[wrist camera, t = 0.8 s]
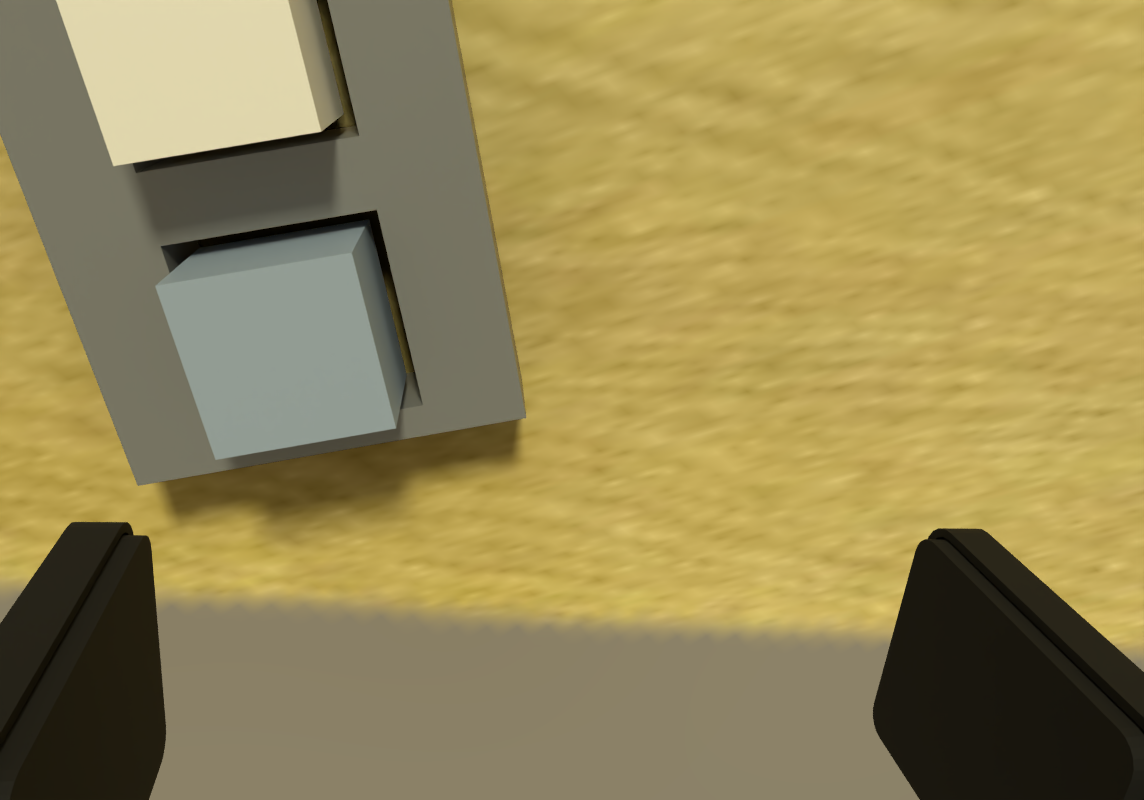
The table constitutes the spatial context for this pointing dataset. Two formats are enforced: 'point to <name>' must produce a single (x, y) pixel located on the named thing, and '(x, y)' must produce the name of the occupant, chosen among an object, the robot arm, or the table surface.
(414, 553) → the table surface
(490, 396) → the keypad base
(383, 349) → the slate-blue key
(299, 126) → the off-white key
